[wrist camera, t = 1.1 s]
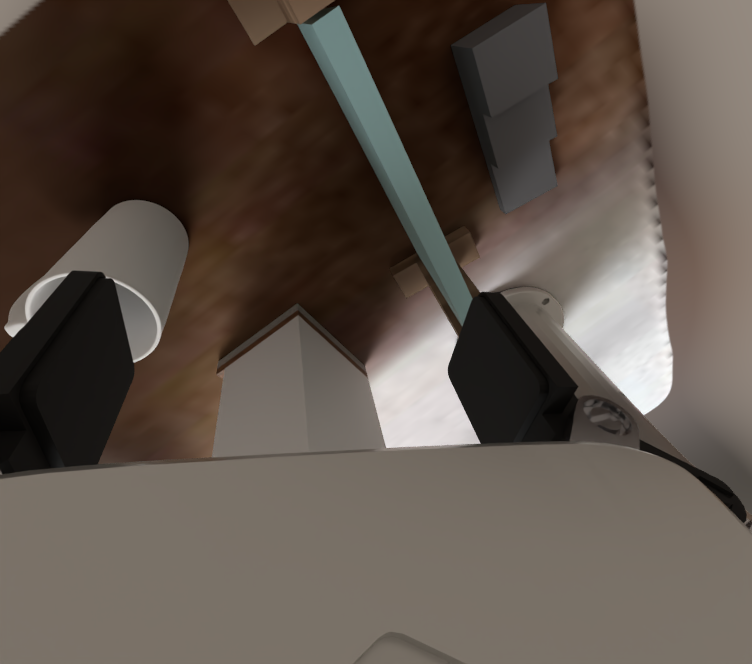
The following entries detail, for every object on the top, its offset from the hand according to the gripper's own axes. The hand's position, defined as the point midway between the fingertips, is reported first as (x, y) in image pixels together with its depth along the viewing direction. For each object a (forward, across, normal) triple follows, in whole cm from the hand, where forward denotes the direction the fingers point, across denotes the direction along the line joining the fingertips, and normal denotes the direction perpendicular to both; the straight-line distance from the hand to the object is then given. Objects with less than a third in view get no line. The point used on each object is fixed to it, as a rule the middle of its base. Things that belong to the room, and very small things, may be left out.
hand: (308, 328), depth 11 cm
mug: (+25, +12, +10) cm, 29 cm away
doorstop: (+25, -17, -3) cm, 31 cm away
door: (+24, -7, 0) cm, 25 cm away
